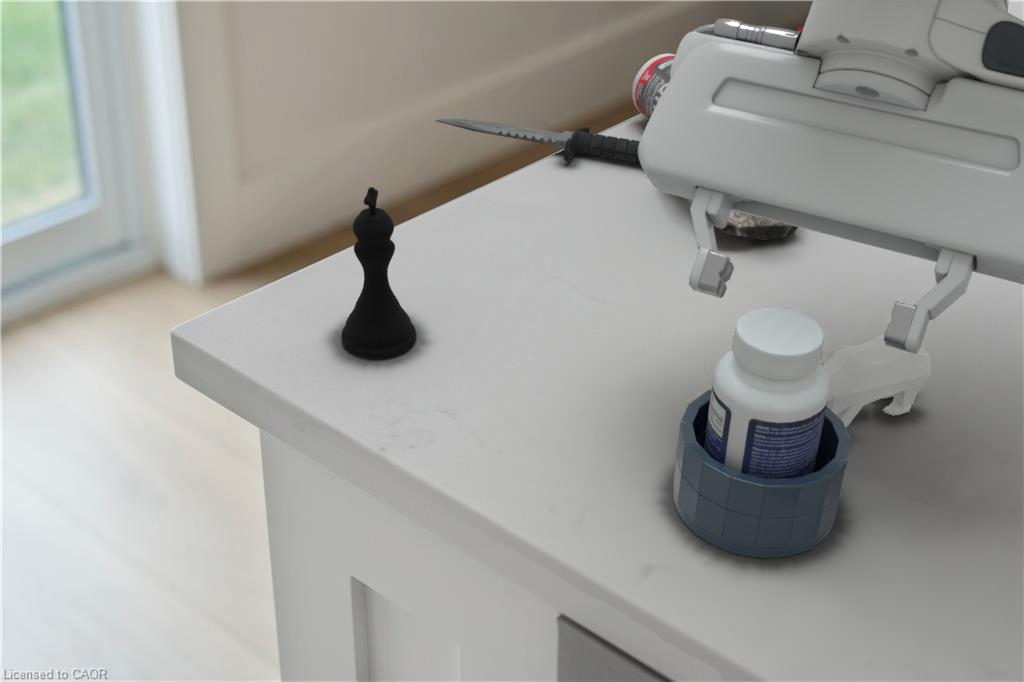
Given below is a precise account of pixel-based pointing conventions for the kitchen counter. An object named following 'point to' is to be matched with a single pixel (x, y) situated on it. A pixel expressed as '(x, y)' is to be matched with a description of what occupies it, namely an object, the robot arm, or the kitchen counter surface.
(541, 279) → the kitchen counter surface
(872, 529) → the kitchen counter surface
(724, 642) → the kitchen counter surface
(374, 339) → the chess piece
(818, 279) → the kitchen counter surface
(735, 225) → the grey patterned lump
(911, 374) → the white low-poly animal
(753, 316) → the pill bottle
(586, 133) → the knife
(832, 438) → the bowl
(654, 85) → the pill bottle
